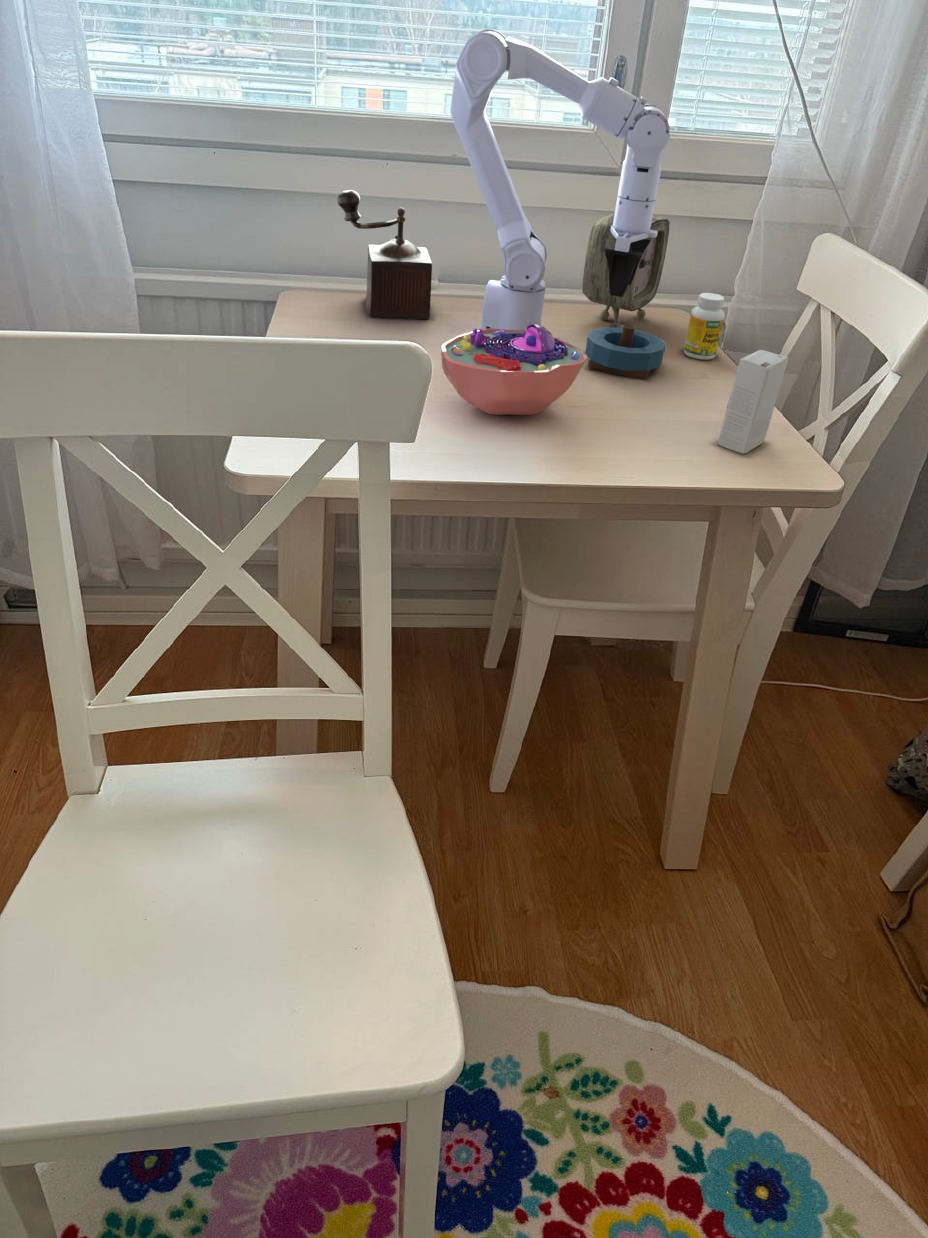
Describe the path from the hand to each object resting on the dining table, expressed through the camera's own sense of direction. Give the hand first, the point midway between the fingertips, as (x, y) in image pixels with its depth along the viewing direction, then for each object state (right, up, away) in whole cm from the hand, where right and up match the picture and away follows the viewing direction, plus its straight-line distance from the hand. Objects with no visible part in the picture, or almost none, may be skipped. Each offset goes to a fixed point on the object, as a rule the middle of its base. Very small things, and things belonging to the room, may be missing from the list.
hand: (620, 289), depth 153 cm
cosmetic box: (+13, -29, -22) cm, 38 cm away
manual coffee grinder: (-39, +1, +14) cm, 41 cm away
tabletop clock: (+2, +1, +19) cm, 19 cm away
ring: (0, -11, 0) cm, 11 cm away
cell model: (-19, -23, -18) cm, 35 cm away
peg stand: (0, -12, 0) cm, 12 cm away
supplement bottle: (+14, -8, +8) cm, 18 cm away
